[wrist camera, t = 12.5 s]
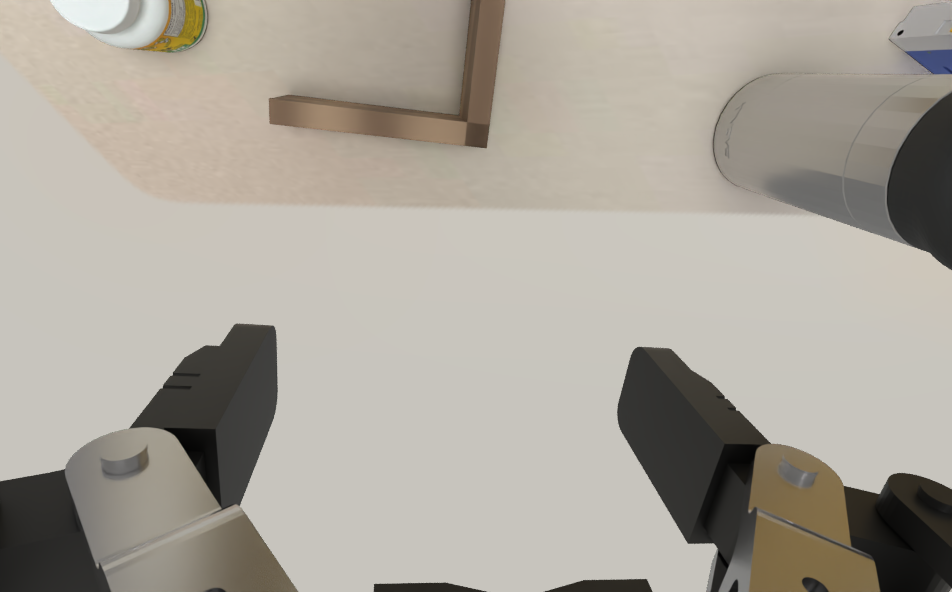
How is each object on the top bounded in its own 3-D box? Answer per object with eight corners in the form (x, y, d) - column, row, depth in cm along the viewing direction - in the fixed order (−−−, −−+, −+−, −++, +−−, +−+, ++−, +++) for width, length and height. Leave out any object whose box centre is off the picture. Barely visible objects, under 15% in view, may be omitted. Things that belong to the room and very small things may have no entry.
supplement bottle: (215, -17, 35) (152, -47, 26) (202, 65, 37) (138, 63, 28) (128, -52, 34) (30, -96, 25) (118, 35, 36) (23, 22, 27)
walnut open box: (497, -41, 37) (512, -61, 31) (476, 138, 41) (486, 148, 36) (287, -76, 34) (264, -105, 29) (289, 116, 39) (269, 123, 33)
